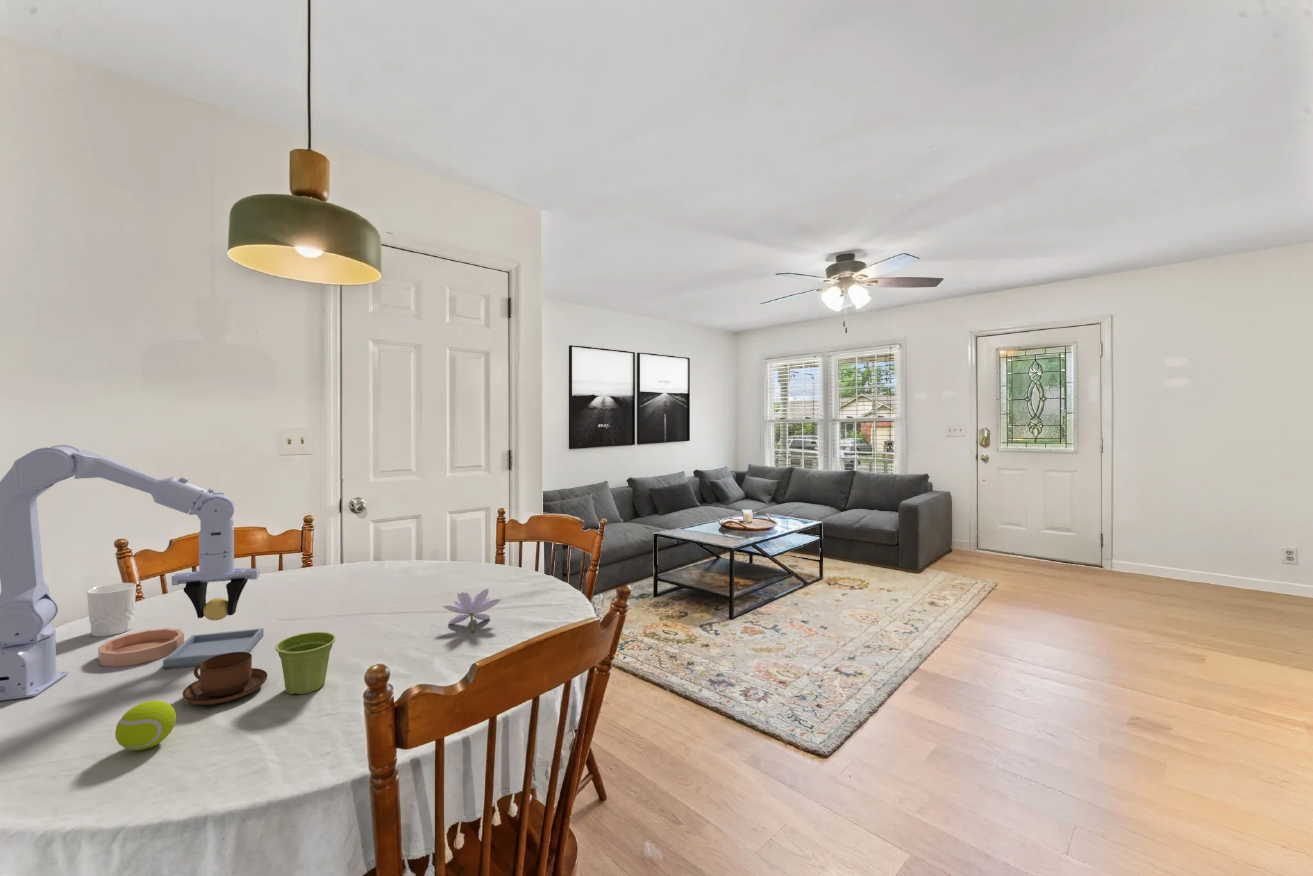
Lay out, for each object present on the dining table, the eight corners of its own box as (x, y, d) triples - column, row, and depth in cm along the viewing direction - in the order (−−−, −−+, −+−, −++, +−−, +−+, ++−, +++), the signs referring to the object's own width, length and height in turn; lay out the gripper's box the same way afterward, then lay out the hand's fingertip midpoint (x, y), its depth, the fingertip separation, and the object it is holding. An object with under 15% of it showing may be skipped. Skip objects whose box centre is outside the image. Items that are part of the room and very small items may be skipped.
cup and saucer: (166, 715, 90) (166, 679, 90) (204, 681, 101) (204, 649, 101) (250, 706, 93) (250, 672, 93) (277, 674, 105) (277, 643, 105)
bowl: (165, 661, 109) (165, 648, 109) (84, 670, 104) (83, 657, 104) (193, 637, 121) (193, 625, 120) (120, 644, 116) (120, 632, 116)
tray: (243, 660, 110) (243, 651, 110) (163, 669, 105) (163, 660, 105) (263, 635, 122) (263, 628, 122) (192, 643, 117) (192, 635, 117)
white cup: (105, 639, 118) (104, 594, 118) (77, 636, 120) (77, 591, 119) (145, 626, 126) (145, 584, 126) (119, 623, 128) (119, 581, 127)
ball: (226, 622, 112) (226, 600, 112) (199, 625, 111) (199, 603, 111) (234, 614, 117) (234, 593, 117) (208, 617, 115) (208, 596, 115)
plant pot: (324, 670, 107) (324, 627, 106) (343, 686, 101) (343, 640, 100) (268, 688, 99) (268, 641, 99) (285, 706, 93) (285, 657, 93)
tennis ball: (110, 766, 77) (109, 720, 76) (120, 742, 82) (120, 699, 82) (172, 750, 81) (172, 706, 80) (178, 728, 86) (178, 687, 86)
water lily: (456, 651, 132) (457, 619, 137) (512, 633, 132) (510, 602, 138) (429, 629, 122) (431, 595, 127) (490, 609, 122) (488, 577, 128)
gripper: (264, 545, 119) (264, 605, 120) (182, 549, 114) (182, 612, 115) (253, 552, 113) (253, 616, 113) (166, 557, 108) (166, 624, 108)
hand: (217, 615), depth 114 cm, fingers closed on ball, 5 cm apart
